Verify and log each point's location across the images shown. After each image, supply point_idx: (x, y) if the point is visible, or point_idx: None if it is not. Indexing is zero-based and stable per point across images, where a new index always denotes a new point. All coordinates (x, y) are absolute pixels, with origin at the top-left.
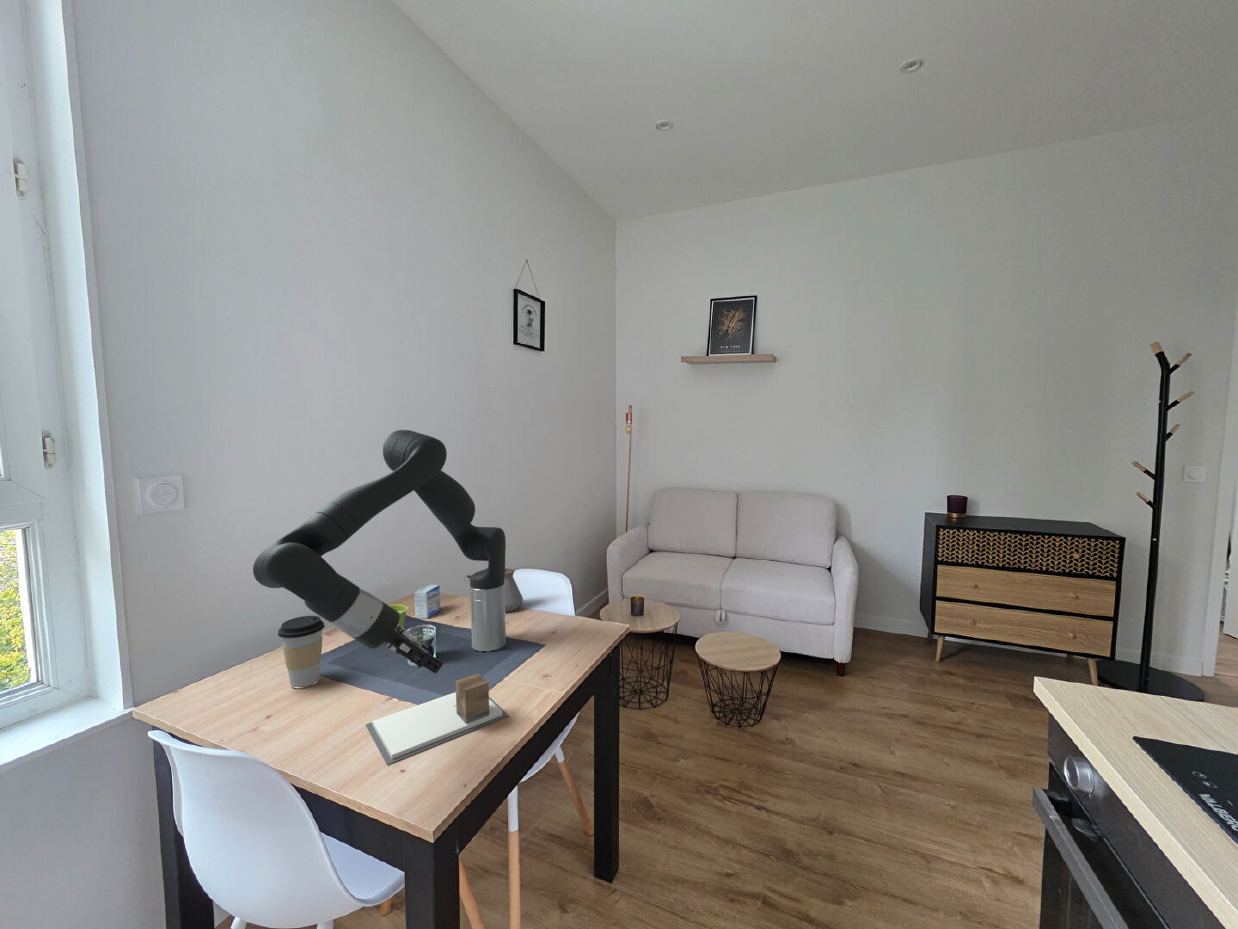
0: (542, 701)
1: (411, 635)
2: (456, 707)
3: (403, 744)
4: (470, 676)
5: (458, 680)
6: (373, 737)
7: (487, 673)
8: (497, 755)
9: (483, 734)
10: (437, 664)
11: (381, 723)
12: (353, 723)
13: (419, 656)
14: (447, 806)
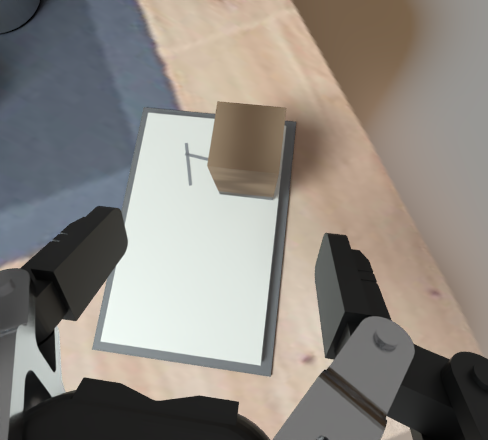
0: (297, 51)
1: (2, 286)
2: (218, 190)
3: (242, 329)
4: (216, 124)
5: (211, 158)
6: (154, 357)
7: (113, 67)
8: (394, 204)
9: (313, 188)
10: (370, 272)
11: (126, 329)
12: (62, 365)
13: (123, 252)
14: (468, 346)
